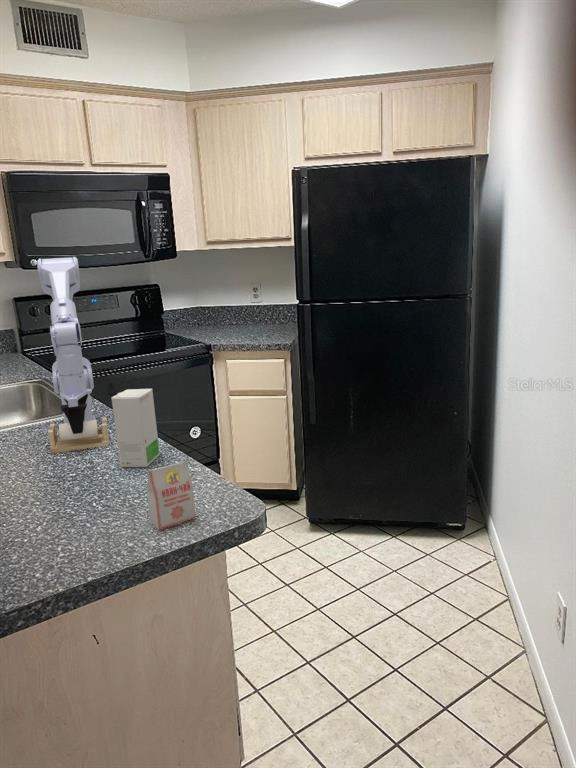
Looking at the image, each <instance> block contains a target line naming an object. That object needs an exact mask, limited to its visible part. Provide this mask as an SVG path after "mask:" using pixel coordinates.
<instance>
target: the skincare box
mask: <svg viewBox="0 0 576 768" xmlns="http://www.w3.org/2000/svg"><path fill="white" fill-rule="evenodd" d="M154 402H155V401H154V392H153V388H138V389H136V388H135V389H134V388H133V389H131V388H130V389H125V390H124V391H121V392H118V393H117V394H116V395H113V396H111V405H112V411H113V420H114V421H113V422H114V427H115V428H114V429H115V435H116V443H117V452H118V460H119V467H120V468H147V467H149V465H151V464H152V463H153V462H154V461H155V460H156V459H157V458H158V457H159V456H161V455H160V445H159V437H158V429H157V428H158V427H157V419H156V412H155V411H156V410H155V403H154Z"/></svg>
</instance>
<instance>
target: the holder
mask: <svg viewBox="0 0 576 768" xmlns="http://www.w3.org/2000/svg"><path fill="white" fill-rule="evenodd" d="M107 419H108V418H107V416H105V417H101V427H99V433H98V435H99V437H94V438H86V439H78V440H70V441H63V442H61V441H60V438H59V437H58V434H57V429H56V423H55V422H54V423H50V425H49V429H48V431H47V433H48V434H47V435H48V440H49V448H50V449H49V450H50V454H56V453H63V452H71V451H72V452H73V451H81V450H87V448H88V449H95V447H96V448H102V447H109V446H110V435H109V429H108V427H109V426H108V420H107Z"/></svg>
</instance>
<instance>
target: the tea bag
mask: <svg viewBox="0 0 576 768" xmlns="http://www.w3.org/2000/svg"><path fill="white" fill-rule="evenodd" d="M188 466H189V465H188V461H180V462H177V463H173V464H170V465H166V466H161V467H159V468H154V469H150V470H148V471H147V474H148V476H147V487H146V488H147V489H146V493H147V501H148V502H147V503H148V512H149V522H150V524H151V525H153V526H154V528H155V529H157V530H158V531H161V529H162V530H164V528H165V529H167V527H168V528H170V526H171V527H174V526H176V524H177V525H179V524H178V523H180V524H183V523H186V522H188V521H187V520H190V521H192V520H191V519H193V520H195V519H194V518H196V506H195V496H194V487H193V482H192V479H191V475H190V470H189V467H188ZM196 519H197V518H196ZM185 521H186V522H185ZM182 522H183V523H182ZM173 525H174V526H173Z"/></svg>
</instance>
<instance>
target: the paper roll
mask: <svg viewBox="0 0 576 768" xmlns="http://www.w3.org/2000/svg"><path fill="white" fill-rule="evenodd" d="M99 428H100V426H99V425H98V421H97V419H95V420H89V421H84V423H83V433H78V434H73V432H72V430H71V427H70V424H69V423H64V422H63V423H59V424H58V438H60V441H61V442H63V441H70V440H78V439H86V438H94V437H99V435H98V433H99Z"/></svg>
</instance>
